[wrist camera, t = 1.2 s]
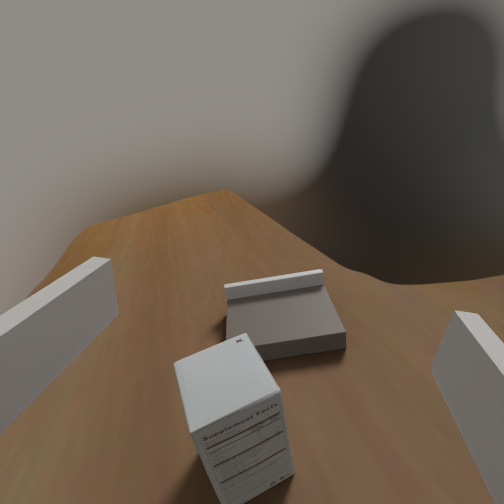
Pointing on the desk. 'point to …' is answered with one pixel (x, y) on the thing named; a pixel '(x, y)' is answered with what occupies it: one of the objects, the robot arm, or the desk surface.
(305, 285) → the shelf board
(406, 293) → the desk surface
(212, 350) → the supplement box
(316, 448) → the desk surface
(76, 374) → the desk surface
